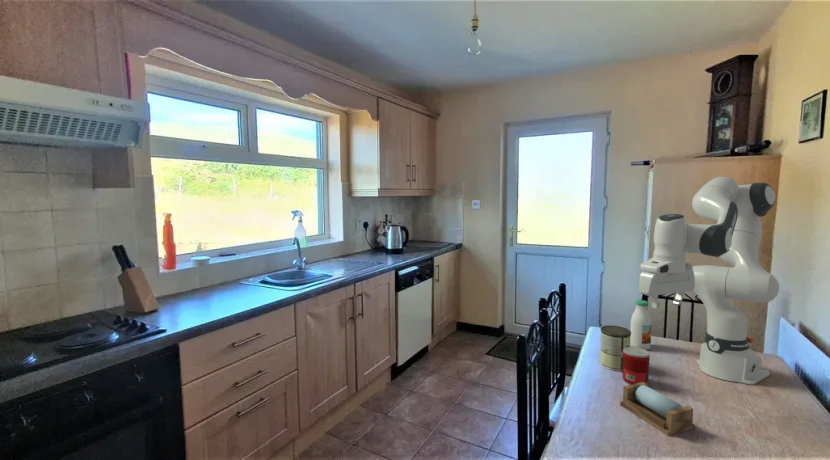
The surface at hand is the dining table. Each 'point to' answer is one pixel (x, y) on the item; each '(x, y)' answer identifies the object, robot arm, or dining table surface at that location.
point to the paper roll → (655, 401)
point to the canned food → (635, 365)
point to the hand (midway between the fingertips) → (666, 306)
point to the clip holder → (671, 425)
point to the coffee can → (613, 346)
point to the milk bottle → (641, 326)
